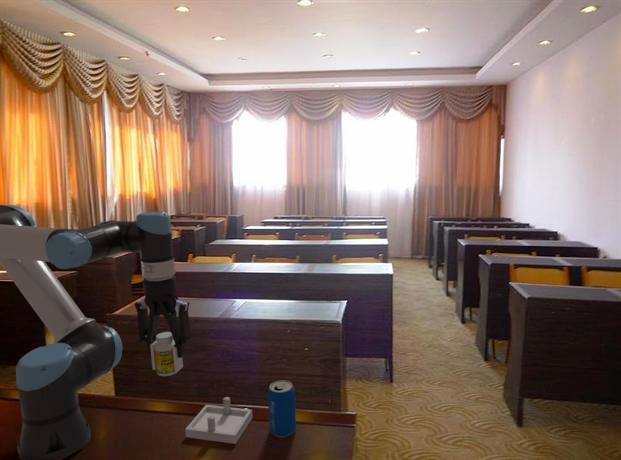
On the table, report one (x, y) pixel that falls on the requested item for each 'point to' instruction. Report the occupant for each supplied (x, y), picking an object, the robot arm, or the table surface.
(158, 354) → the supplement bottle
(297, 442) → the table surface
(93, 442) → the table surface
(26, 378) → the robot arm
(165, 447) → the table surface
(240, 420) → the tray
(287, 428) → the beverage can
